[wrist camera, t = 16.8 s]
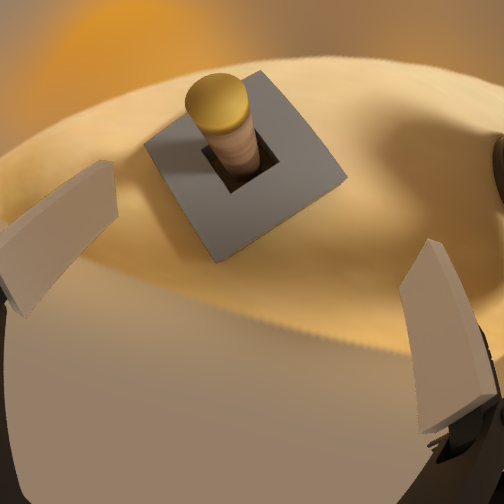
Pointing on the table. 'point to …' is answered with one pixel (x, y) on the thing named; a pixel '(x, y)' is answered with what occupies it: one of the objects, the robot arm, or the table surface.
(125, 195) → the table surface
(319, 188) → the socket plate
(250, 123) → the yellow capped peg
